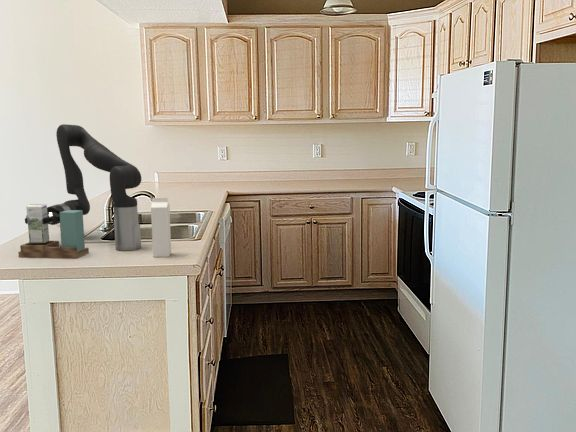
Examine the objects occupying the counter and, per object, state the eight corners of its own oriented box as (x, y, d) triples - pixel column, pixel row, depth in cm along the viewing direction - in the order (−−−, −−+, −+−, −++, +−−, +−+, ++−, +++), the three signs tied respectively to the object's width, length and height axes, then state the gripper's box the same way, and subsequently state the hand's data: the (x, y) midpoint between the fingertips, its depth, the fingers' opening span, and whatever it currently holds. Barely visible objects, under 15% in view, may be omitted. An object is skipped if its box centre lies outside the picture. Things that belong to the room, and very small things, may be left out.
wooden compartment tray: (88, 252, 224) (88, 241, 223) (76, 258, 214) (75, 246, 213) (33, 251, 227) (32, 240, 226) (18, 257, 217) (17, 245, 216)
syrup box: (50, 240, 224) (47, 203, 221) (44, 243, 218) (41, 205, 215) (35, 240, 224) (32, 203, 221) (28, 243, 218) (25, 205, 215)
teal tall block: (84, 248, 222) (82, 210, 219) (77, 252, 216) (74, 212, 214) (68, 248, 223) (66, 210, 220) (60, 251, 217) (58, 212, 214)
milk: (155, 253, 222) (153, 197, 219) (171, 253, 222) (169, 196, 219) (152, 257, 216) (150, 198, 213) (169, 256, 216) (166, 198, 213)
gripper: (40, 204, 233) (16, 211, 217) (73, 205, 232) (51, 212, 215) (41, 222, 235) (17, 230, 218) (74, 223, 233) (53, 231, 217)
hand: (34, 221), depth 217 cm, fingers closed on syrup box, 6 cm apart
